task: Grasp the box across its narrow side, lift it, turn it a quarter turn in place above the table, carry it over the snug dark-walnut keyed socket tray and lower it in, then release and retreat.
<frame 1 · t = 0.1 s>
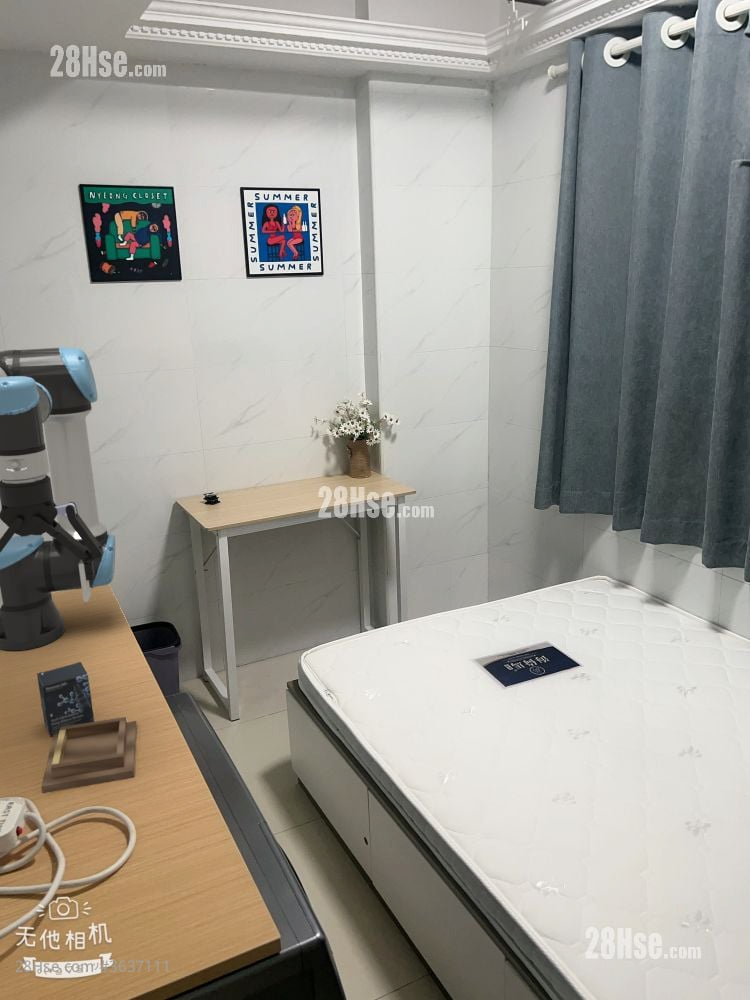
hand: (43, 603, 123), 28 cm above the table, fingers open, 13 cm apart
box: (69, 724, 138), on the table
socket: (92, 757, 128), on the table
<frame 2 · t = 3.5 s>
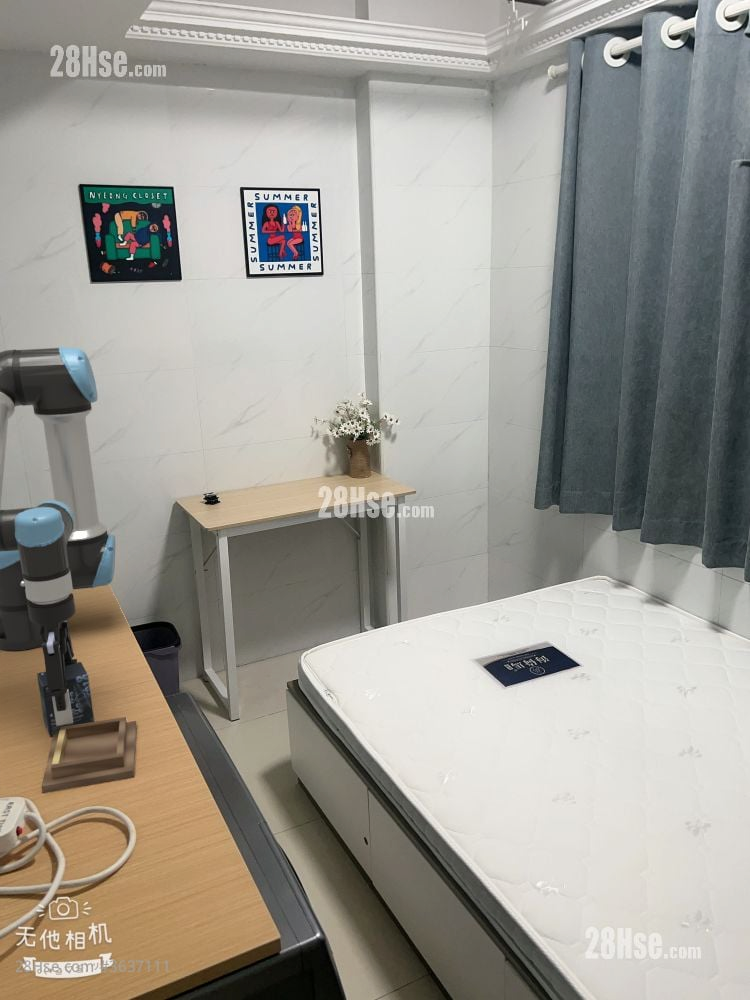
hand: (67, 710, 137), 3 cm above the table, fingers open, 8 cm apart
nothing on the table moved.
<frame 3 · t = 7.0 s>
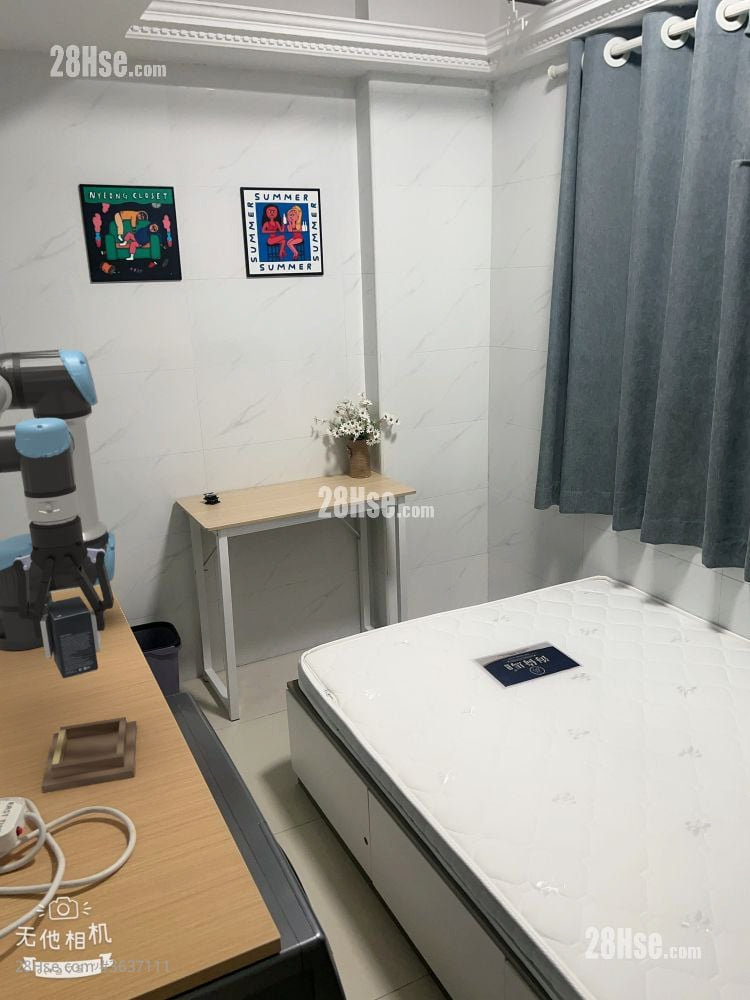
hand: (74, 651, 124), 20 cm above the table, fingers closed on box, 7 cm apart
box: (76, 666, 124), point 17 cm above the table, touching gripper
when the fingers open (5 cm above the table, at t = 10.1 s): box drops 2 cm, resting on socket.
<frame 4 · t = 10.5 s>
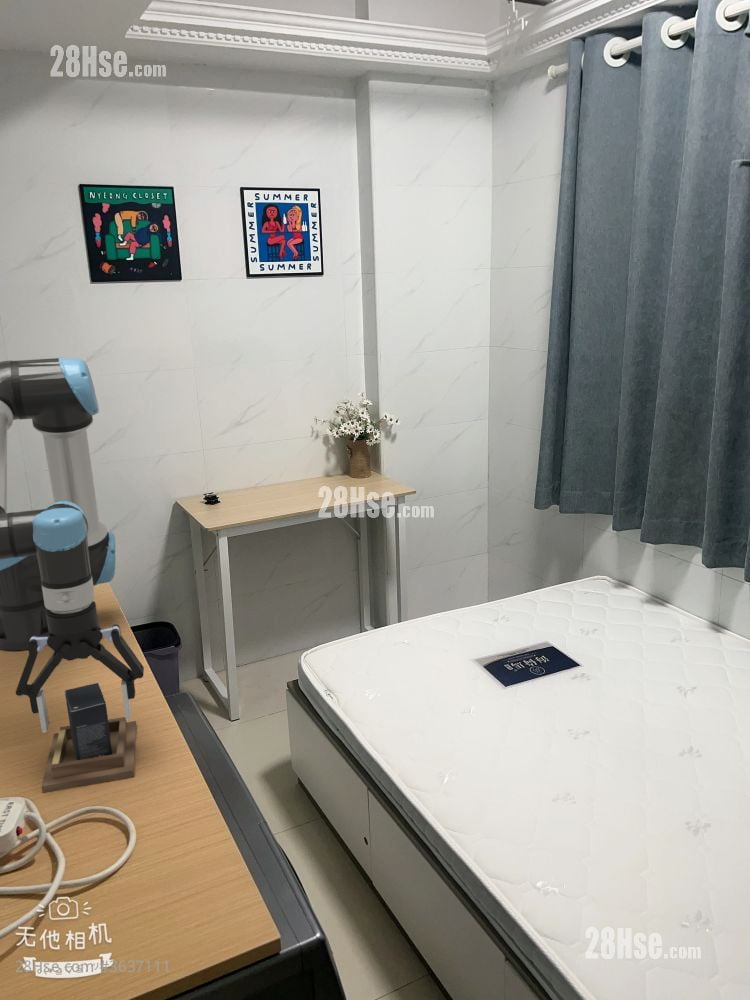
hand: (87, 721, 126), 7 cm above the table, fingers open, 12 cm apart
box: (92, 751, 128), point 1 cm above the table, touching socket
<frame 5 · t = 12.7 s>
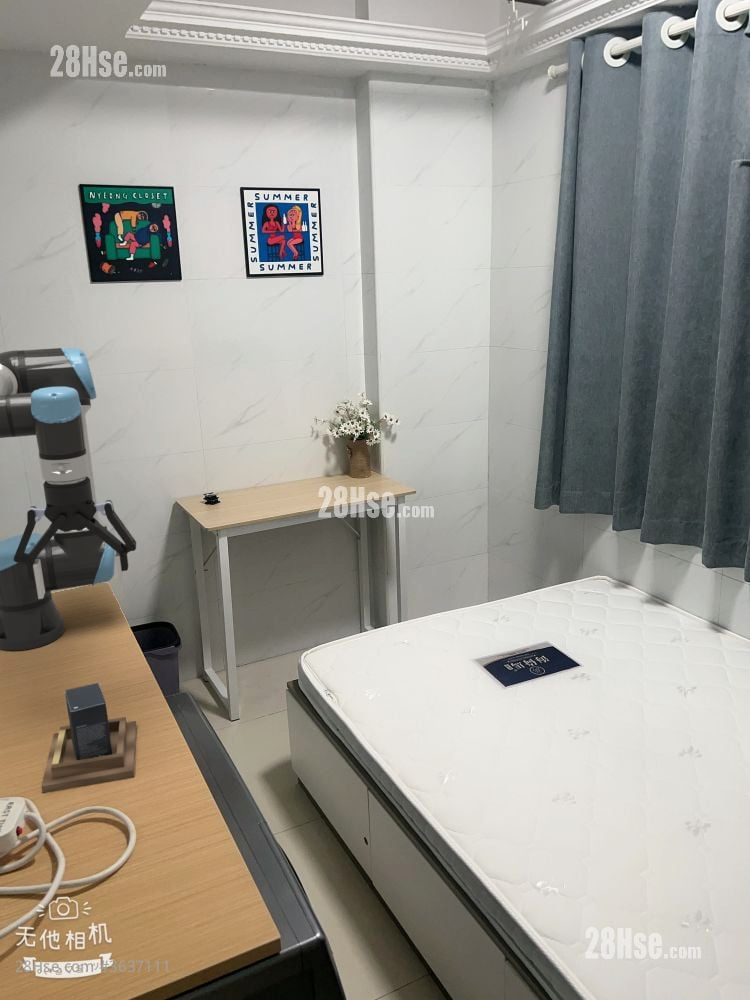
hand: (82, 591, 135), 25 cm above the table, fingers open, 13 cm apart
nothing on the table moved.
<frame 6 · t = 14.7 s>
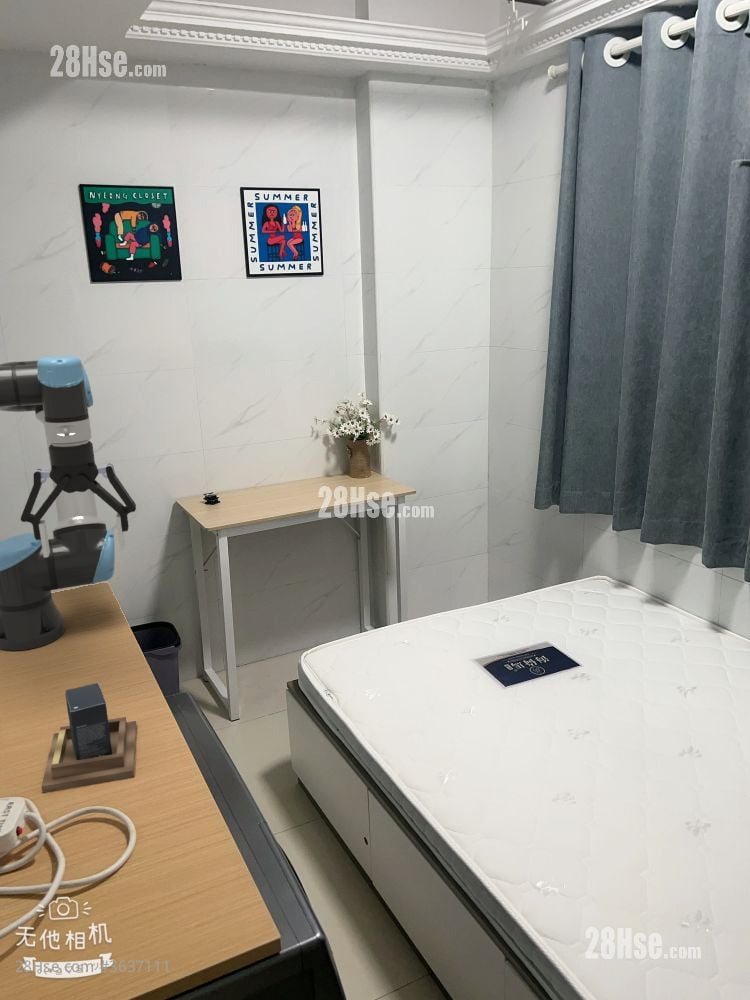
hand: (85, 551, 143), 29 cm above the table, fingers open, 13 cm apart
nothing on the table moved.
at the end: box 0.2 cm from the socket (horizontally); box tilted 0°; the gripper is holding nothing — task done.
